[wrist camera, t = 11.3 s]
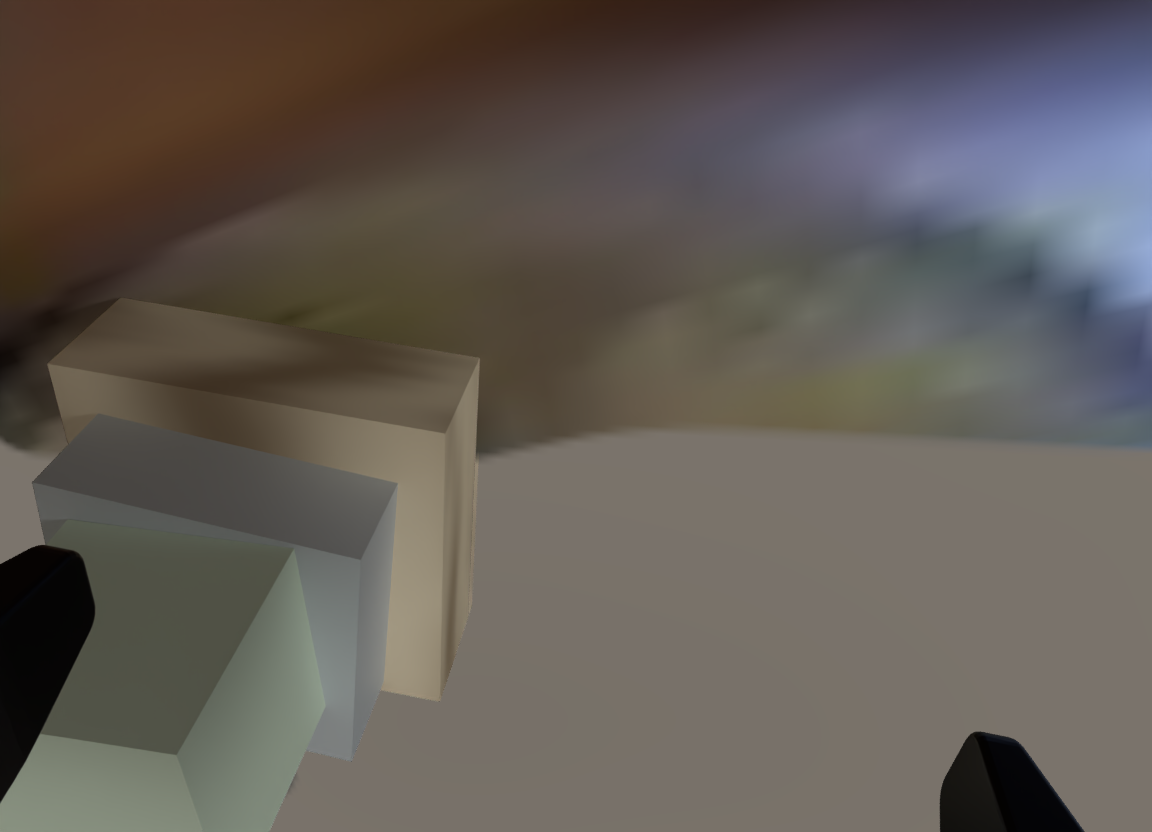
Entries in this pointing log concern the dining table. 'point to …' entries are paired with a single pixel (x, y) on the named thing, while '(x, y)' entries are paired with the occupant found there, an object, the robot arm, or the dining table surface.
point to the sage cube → (175, 690)
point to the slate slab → (252, 536)
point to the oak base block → (312, 436)
